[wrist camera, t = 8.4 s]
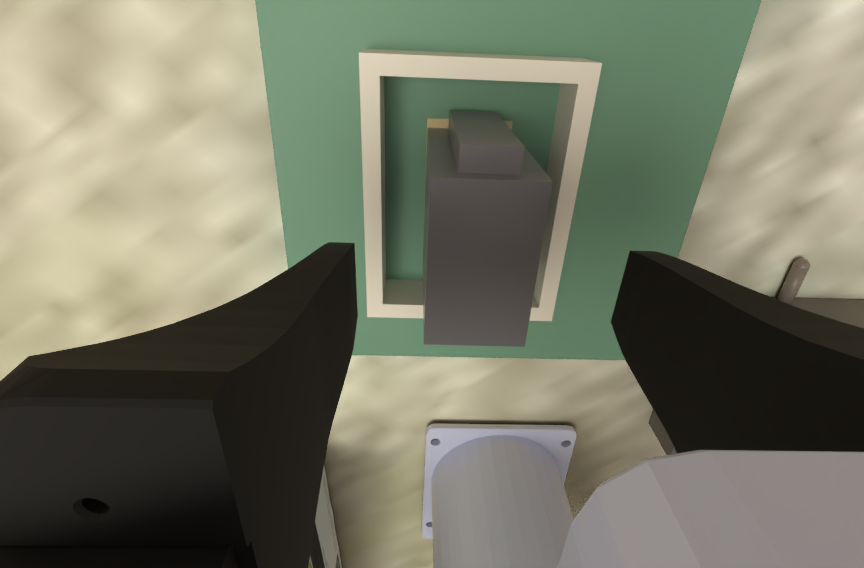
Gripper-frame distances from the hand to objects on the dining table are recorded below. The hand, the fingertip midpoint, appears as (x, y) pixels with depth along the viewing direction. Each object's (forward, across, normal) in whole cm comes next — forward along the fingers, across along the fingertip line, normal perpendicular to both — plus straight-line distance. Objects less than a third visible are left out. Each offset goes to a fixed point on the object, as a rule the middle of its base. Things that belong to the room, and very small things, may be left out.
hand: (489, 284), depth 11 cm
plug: (+7, 0, 0) cm, 7 cm away
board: (+8, -1, 0) cm, 8 cm away
